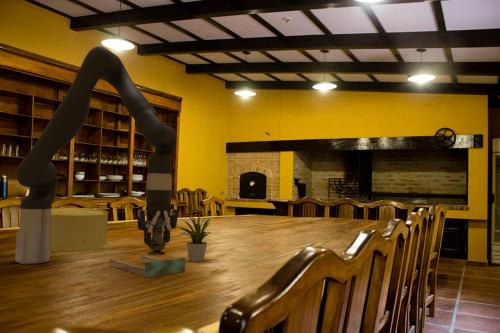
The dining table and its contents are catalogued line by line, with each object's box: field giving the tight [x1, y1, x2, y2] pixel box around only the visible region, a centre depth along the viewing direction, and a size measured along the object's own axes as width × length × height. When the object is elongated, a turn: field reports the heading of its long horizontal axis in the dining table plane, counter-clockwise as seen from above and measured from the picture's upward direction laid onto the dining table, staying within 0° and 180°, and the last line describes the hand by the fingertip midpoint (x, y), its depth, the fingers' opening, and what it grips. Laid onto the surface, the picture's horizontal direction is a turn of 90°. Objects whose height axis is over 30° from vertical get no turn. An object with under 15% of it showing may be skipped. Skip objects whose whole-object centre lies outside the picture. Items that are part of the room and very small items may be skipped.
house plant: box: [176, 214, 212, 263], centre depth 149 cm, size 14×14×16 cm
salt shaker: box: [147, 219, 168, 256], centre depth 129 cm, size 6×6×12 cm
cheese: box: [50, 207, 109, 253], centre depth 171 cm, size 26×26×15 cm
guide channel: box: [109, 254, 186, 278], centre depth 132 cm, size 13×22×4 cm, turn 47°
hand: (157, 243), depth 129 cm, fingers closed on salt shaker, 6 cm apart
